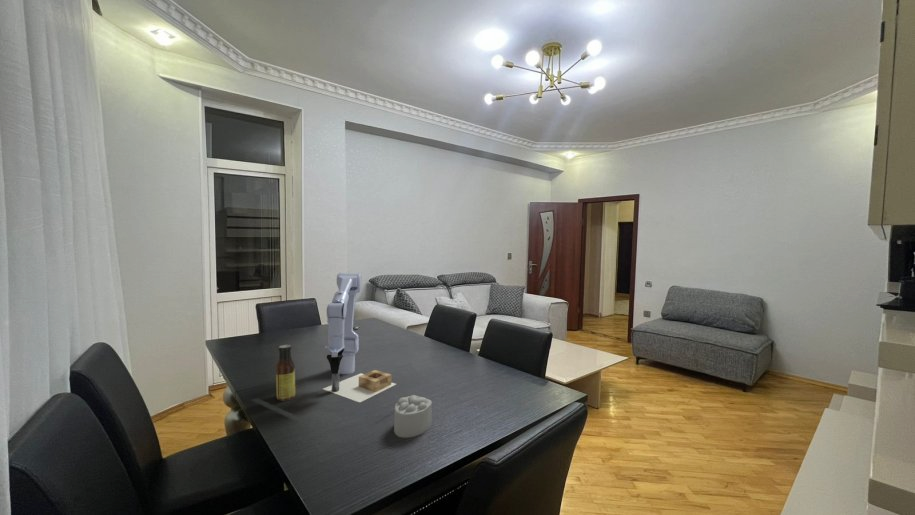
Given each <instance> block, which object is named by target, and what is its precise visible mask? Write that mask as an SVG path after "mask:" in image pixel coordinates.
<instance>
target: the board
mask: <svg viewBox="0 0 915 515" xmlns="http://www.w3.org/2000/svg"><path fill="white" fill-rule="evenodd" d="M364 374H365V373H358V374H356V375H353V376H351V377H347V378H345V379H343V380H341V381H339V391H337V392H332V384H331V385H328V386H327V387H324V388H322V390H325V391H326V392H330V393H333V394H335V395H338V396H340V397H343V398H346V399H349V400H351V401H354V402H356V403H362V402H364V401H366V400H367V399H370V398H372V397H374V396H375V395H378V394H380V393H383V392H384V391H386V390H388V389H390V388H392V387H394V386H396V385H397V383H395V382H392V381H391V385H389V386H387V387H385V388H383V389H381V390H379V391H377V392H374V391H371V390H368V389H364V388H361V387H359V376H361V375H364Z"/></svg>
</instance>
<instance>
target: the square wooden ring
mask: <svg viewBox="0 0 915 515" xmlns="http://www.w3.org/2000/svg"><path fill="white" fill-rule="evenodd" d="M363 374H364V375H361V376H359V387H361V388H364V389H368V390H371V391H374V392H377V391H379V390H381V389H383V388H385V387H387V386H389V385H391V382H392V374H391V373H389V372H388V373H387V372H383V371H380V370H376V369H374V370H372V371H369V372H366V373H363Z"/></svg>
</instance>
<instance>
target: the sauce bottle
mask: <svg viewBox="0 0 915 515" xmlns="http://www.w3.org/2000/svg"><path fill="white" fill-rule="evenodd" d="M291 350H292V345H291V344H283V345H279V346H278V352H279V355H278V356H279V357H278V358H279V359H278V361H277V363H276V366H275V385H276V386H275V388H276V400H278V401H281V402H283V401H285V402H286V401H289V400H292V399H294V398H295V397H296V367H295V363H294V361H293V358H292V355H291V353H292V352H291Z"/></svg>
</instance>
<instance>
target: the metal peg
mask: <svg viewBox="0 0 915 515" xmlns="http://www.w3.org/2000/svg"><path fill="white" fill-rule="evenodd" d="M340 375H341V374H340V369H339V371H338V374H332V373H331V385H332V392H337V391H339V382H340V377H341V376H340ZM332 392H331V393H332Z"/></svg>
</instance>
